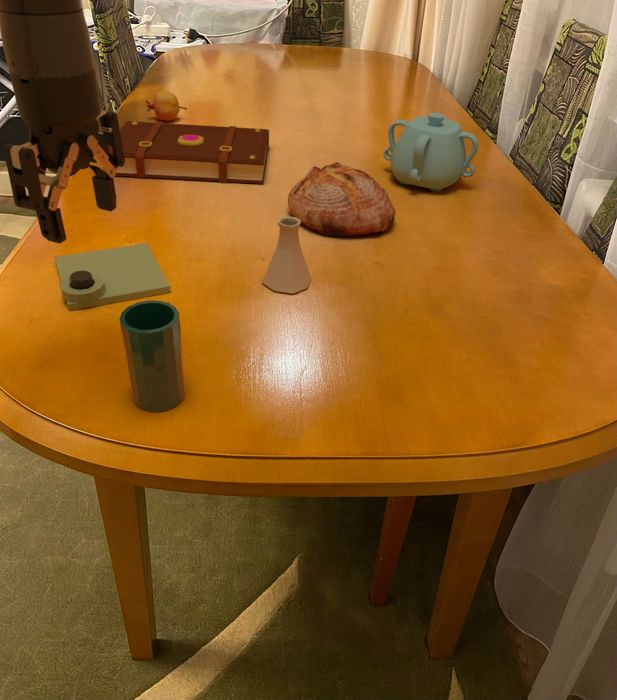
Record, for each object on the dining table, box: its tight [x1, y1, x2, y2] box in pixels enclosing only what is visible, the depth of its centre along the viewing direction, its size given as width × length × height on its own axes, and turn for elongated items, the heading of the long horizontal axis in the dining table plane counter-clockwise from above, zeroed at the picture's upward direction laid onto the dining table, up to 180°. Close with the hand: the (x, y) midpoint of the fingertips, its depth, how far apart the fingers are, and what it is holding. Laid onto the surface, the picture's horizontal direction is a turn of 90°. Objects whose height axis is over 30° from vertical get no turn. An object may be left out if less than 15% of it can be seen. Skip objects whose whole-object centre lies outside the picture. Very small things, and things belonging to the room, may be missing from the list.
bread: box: [287, 161, 396, 237], centre depth 108 cm, size 16×20×10 cm
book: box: [108, 120, 270, 185], centre depth 127 cm, size 23×32×5 cm
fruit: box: [144, 89, 188, 122], centre depth 148 cm, size 7×7×10 cm
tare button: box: [70, 271, 93, 290], centre depth 83 cm, size 3×3×2 cm
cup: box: [119, 299, 186, 413], centre depth 67 cm, size 6×6×11 cm
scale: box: [54, 242, 172, 312], centre depth 89 cm, size 14×14×2 cm
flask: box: [261, 215, 312, 295], centre depth 89 cm, size 7×7×10 cm
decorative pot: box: [383, 112, 479, 192], centre depth 124 cm, size 16×16×14 cm
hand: (82, 224), depth 66 cm, fingers open, 8 cm apart
